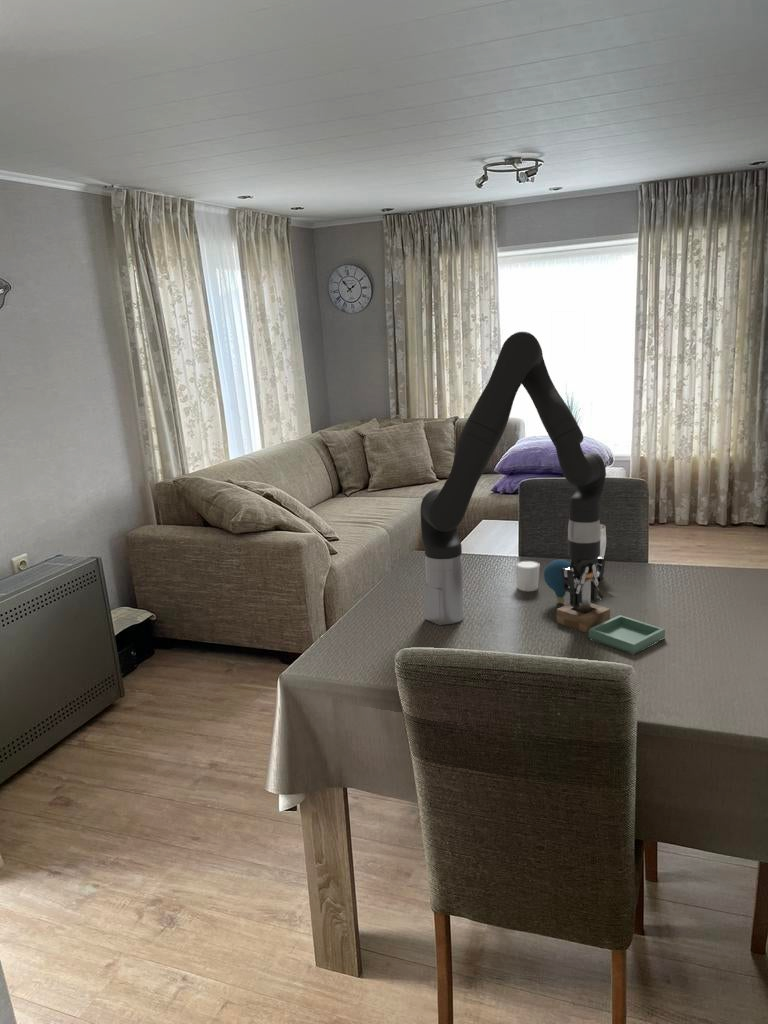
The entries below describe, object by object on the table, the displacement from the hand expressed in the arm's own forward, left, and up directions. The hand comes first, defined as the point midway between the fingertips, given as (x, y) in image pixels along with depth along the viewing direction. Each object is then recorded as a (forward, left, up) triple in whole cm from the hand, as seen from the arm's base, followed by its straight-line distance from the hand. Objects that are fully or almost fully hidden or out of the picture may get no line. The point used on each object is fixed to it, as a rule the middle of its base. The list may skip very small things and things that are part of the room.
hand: (583, 603), depth 177 cm
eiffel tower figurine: (+16, +9, -6) cm, 19 cm away
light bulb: (+6, +12, -5) cm, 14 cm away
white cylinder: (+9, +26, -5) cm, 28 cm away
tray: (-1, -13, -5) cm, 14 cm away
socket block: (0, 0, -5) cm, 5 cm away
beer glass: (+29, +19, -5) cm, 35 cm away
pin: (0, 0, -5) cm, 5 cm away
